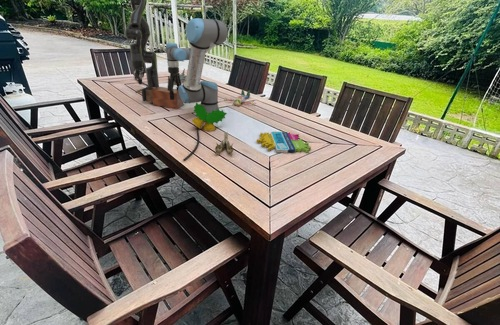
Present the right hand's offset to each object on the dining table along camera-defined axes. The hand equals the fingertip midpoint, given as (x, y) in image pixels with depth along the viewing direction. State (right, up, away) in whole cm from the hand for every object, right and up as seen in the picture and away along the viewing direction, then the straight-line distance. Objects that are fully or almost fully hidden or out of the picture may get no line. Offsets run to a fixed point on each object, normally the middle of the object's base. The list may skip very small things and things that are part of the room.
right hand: (175, 97), depth 196 cm
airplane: (-17, +33, +71) cm, 80 cm away
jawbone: (+42, -43, -57) cm, 83 cm away
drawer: (-18, -1, +5) cm, 19 cm away
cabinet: (-7, -5, +4) cm, 9 cm away
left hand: (-27, +10, 0) cm, 28 cm away
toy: (+49, +3, +25) cm, 55 cm away
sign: (+75, -37, -43) cm, 94 cm away
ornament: (+30, -27, -31) cm, 51 cm away
